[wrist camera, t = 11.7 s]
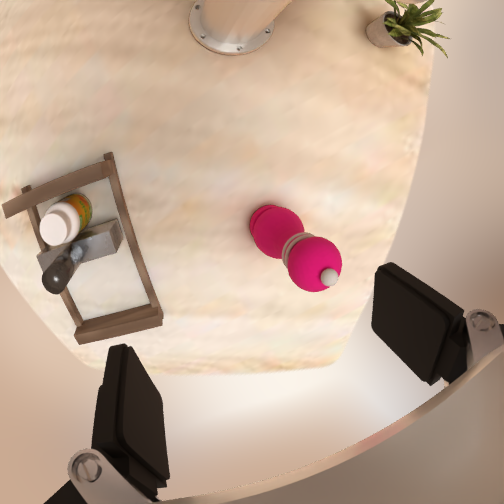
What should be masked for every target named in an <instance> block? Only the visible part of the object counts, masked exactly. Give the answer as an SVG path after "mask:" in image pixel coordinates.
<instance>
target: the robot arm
mask: <svg viewBox="0 0 504 504" xmlns="http://www.w3.org/2000/svg"><path fill="white" fill-rule="evenodd" d="M291 1H292V0H197V1H196V2H195V4H194V5H193V7H192V9H191V11H190V15H189V26H190V30H191V32H192V34H193V36H194V37H195V38H196V40H197V41H198V42H199V43H200V44H202V45H203V46H204V47H206V48H208V49H209V50H212V51H214V52H217V53H221V54H225V55H242V54H246V53H250V52H252V51H255V50H257V49H258V48H260V47H261V46H263V45H264V44H265V43H266V42H267V41H268V40H269V38H270V37H271V35H272V33H273V30H274V18H275V17H276V16H277V15H278V14H279V13H280V12H281V11H282V10H283V9H284V8H285V7H286V6H287V5H288V4H289V3H290V2H291ZM395 1H397V2H401V3H406V4H416V3H421V2H424V1H427V0H395ZM266 32H267V33H266ZM202 37H203V38H204V39H201V38H202ZM237 49H239V50H240V51H238V50H237ZM373 299H374V300H373V311H372V322H371V326H372V329H373V331H374V332H375V333H376V334H377V335H378V336H379V337H380V338H381V339H382V340H383V341H384V342H385V343H386V344H387V346H388V347H390V349H391V350H392V351H393V352H394V353H395V354H396V355H397V356H399V358H400V359H401V360H402V361H403V362H404V363H405V364H406V365H407V366H408V367H409V368H410V369H411V370H412V371H413V372H414V373H415V374H416V375H417V376H418V377H419V378H420V379H421V380H422V381H424V382H427V383H428V384H429V385H430V386H431V385H433V384H434V383H435V382H437V381H438V380H440V378H441V377H442V378H443V379H444V389H443V390H442V391H441V392H439V393H438V394H436V395H435V396H434V397H432V398H431V399H430V400H428V401H427V402H425V403H424V404H422V405H421V406H419V407H418V408H416V409H415V410H414V411H412V412H410V413H409V414H407V415H406V416H404V417H402V418H401V419H399V420H397V421H396V422H394V423H393V424H391V425H389V426H387V427H386V428H384V429H382V430H381V431H379V432H377V433H375V434H373V435H372V436H370V437H368V438H366V439H364V440H362V441H360V442H358V443H356V444H354V445H352V446H350V447H348V448H346V449H344V450H342V451H339V452H337V453H335V454H333V455H330V456H328V457H326V458H324V459H321V460H319V461H316V462H314V463H311V464H309V465H306V466H304V467H301V468H298V469H296V470H293V471H290V472H287V473H284V474H281V475H278V476H275V477H272V478H269V479H266V480H262V481H259V482H256V483H252V484H248V485H244V486H240V487H236V488H232V489H227V490H223V491H219V492H214V493H209V494H205V495H199V496H193V497H186V498H179V499H173V500H167V501H162V500H160V499H159V498H158V497H157V495H158V492H157V488H164V487H167V484H166V480H168V479H169V478H170V473H169V465H168V457H167V448H166V439H165V428H164V415H163V402H162V398H161V395H160V393H159V392H158V390H157V389H156V387H155V385H154V384H153V382H152V380H151V379H150V377H149V375H148V374H147V372H146V370H145V369H144V367H143V365H142V363H141V362H140V360H139V358H138V356H137V355H136V353H135V351H134V349H133V348H132V347H131V346H129V347H128V346H127V345H126V344H119V345H115V346H111V347H110V348H109V351H108V356H107V361H106V367H105V372H104V378H103V384H102V385H101V386H100V387H99V390H98V397H97V403H96V410H95V418H94V426H93V436H92V446H91V449H83V450H80V451H78V452H77V453H75V454H74V455H73V456H72V457H71V459H70V461H69V464H68V475H69V477H70V480H69V481H68V482H67V483H66V484H65V485H64V486H62V487H61V488H60V489H59V490H58V491H57V492H56V493H55V494H54V495H53V496H52V497H50V498H49V499H48V500H47V501H46V502H45V503H44V504H504V324H498V321H497V319H496V317H495V316H494V315H493V314H492V313H490V312H488V311H486V310H481V309H476V310H472V311H470V312H469V313H468V314H467V316H466V318H464V317H463V313H464V310H463V309H462V308H460V307H459V306H457V305H456V304H455V303H453V302H452V301H450V300H449V299H448V298H446V297H445V296H443V295H442V294H440V293H438V292H437V291H436V290H434V289H433V288H431V287H430V286H428V285H427V284H425V283H424V282H422V281H421V280H419V279H417V278H416V277H415V276H413V275H412V274H410V273H409V272H407V271H405V270H404V269H402V268H400V267H399V266H397V265H396V264H394V263H392V262H390V263H387V264H384V265H381V266H379V267H378V269H377V271H376V273H375V281H374V298H373Z"/></svg>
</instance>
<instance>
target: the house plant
mask: <svg viewBox="0 0 504 504" xmlns="http://www.w3.org/2000/svg"><path fill="white" fill-rule="evenodd" d="M385 1H386V2H387V3H389V4H390V5H391V6H392V7H394V12H393V11H388V12H385V13H384V14H383V15H381V16H380V17H378V18H377V19H376V20H374V21H373V22H372V23H370V24H369V25H368V26H367V28H366V34H367V36H368V38H369V40H370V41H371V42H372V43H373V44H374V45H375V46H378V47H394V46H408V45H410V43H411V42H413V43H414V44H415V45H416V46H417V47H418V49H419V50H420V51H421V53H422V56H423V53H424V52H423V49H422V42H421V39H420V37H422V38H424V39H426V40H428V41H429V42H430V43H432V44H433V45H435V46H436V47H438V48H439V49H440V50H441V51H442V52H443V53H444V54H445V55H446V57H447V54H446V52H445V51H444V49H443V48H442V47H441V46H440V45H438V44H437V43H436V42H435V41H433V40H432V39H430V38H428V37H426V36H423V35H422V34H421V33H425V34H427V35H430V36H433V37H441V38H447V39H449V38H448V37H444V36H442V35H440V34H435V33H433V32H432V31H431V30H428V29H422V28H416V27H415V26H420V25H424V24H427V23H430V22H433V21H435V20H436V19H438V18H439V17H440V16H441V14H442V13H440V12H441V10H442V8H439V9H434V10H431V11H427V12H424V13H422V12H423V11H424V10H425V9H427V8H428V7H429V6H430V5H431V4H432V3H433V2H434V0H429V1H427V2H426V3H425V4H424V5H422V7H421V8H420V9H418V7H417V6H416V5H414V4H409V7H407V5H406V4H403V3H401V2H397V3H398V4H400V6H401V7H403V8H404V7H405V8H406V9H407V11H406V10H405V12H404V15H403V16H401V15H400V12H399V8H398V6H397V5H396V1H395V0H394V1H392V0H385ZM405 8H404V9H405ZM396 10H397V12H398V13H396ZM421 13H422V14H421ZM431 14H432V15H431ZM427 15H430V16H427ZM424 16H427V17H424ZM422 17H424V18H422ZM418 33H419V34H418ZM417 35H418V36H417ZM419 36H420V37H419ZM412 37H413V38H415V39H417V40H418V41H419V42H420V44H421V46H420V45H418V44H417V43H416V42H414V41H412ZM447 58H448V57H447Z"/></svg>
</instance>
